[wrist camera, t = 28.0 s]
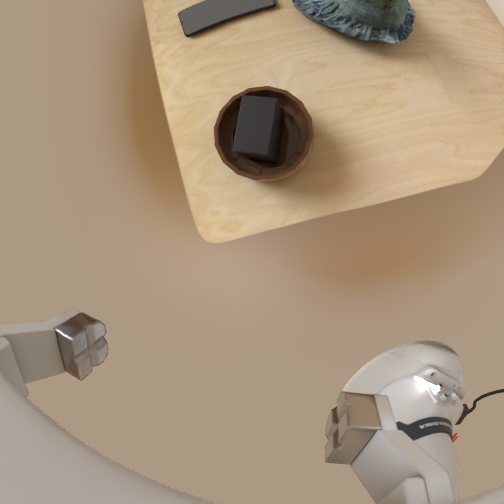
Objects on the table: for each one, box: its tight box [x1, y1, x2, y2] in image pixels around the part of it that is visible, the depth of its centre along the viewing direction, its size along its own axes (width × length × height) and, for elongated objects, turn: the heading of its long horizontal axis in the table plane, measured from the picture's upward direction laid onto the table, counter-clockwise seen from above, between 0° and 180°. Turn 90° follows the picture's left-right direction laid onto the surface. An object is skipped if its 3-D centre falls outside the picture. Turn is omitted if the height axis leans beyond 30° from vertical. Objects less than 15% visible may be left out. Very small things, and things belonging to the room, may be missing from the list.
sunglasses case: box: [233, 95, 285, 164], centre depth 28 cm, size 4×6×9 cm, turn 171°
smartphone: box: [178, 0, 276, 37], centre depth 29 cm, size 7×1×15 cm
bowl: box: [214, 86, 313, 182], centre depth 30 cm, size 11×11×6 cm
